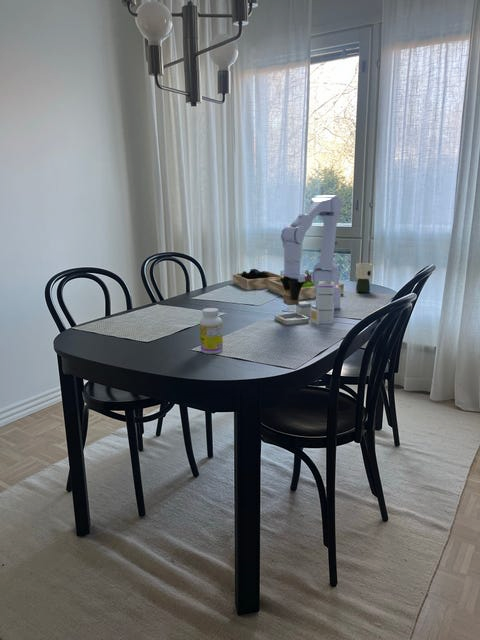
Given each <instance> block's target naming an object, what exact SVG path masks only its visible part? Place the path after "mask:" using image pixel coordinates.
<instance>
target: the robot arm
mask: <svg viewBox="0 0 480 640" xmlns="http://www.w3.org/2000/svg"><path fill="white" fill-rule="evenodd" d="M341 210H342V201H341V198H340V196H339V195H338V194H336V195H314V196H313V197H312V198H311V200H310V206H309V208H307V210H306V211H305V213H300V214H298V216H297V218H296V219H295V220H294V221H292V223H291V224H290V225H289V226H285V227H283V229H282V231H281V234H280V240H281V242H282V247H283V250H284V252H283V253H284V255H283V257H284V258H283V261H284V262H283V264H284V265H283V268H284V269H282V270H280V274H279V275H280V276H284V277H283V278H280V281H281V282H282V285H283V287H284V290H285V289H291V298H292V300H298V297H299V294H300V290H301V288H302V286H303V284H304V282H305V276H306V275H304V274H303V273H301V251H302V250H301V246H302V244H301V243H303V242H304V240H305V236H306V234H307V232H308V230H309V229H310V228H311V227H312V225H313V220H314V219H315V218H316V217H317V216H318V217H319V218H320V219H322V221H323V225H322V226H323V227H322V233H321V234H322V237H321V247H320V254H319V255H320V257H319V261H318V262H317V263H315V265H313V269H312V272H313V273H312V274H311V275H312V282H313V283H314V286H316V298H315V304H311V308H313V309H315V310H318V283H319V281H333V282H334V310H336V309H337V310H338V309H341V308H342V306H341V296H342V295H341V292H340V288H339V287H338V286H337V284H338V282H339V283H340V267H339V266H338V265H337V264H335V262H334V254H335V246H336V243H335V242H336V236H337V226H338V225H337V223H338V219H340V217H341V212H342V211H341ZM302 274H303V275H304V276H303V275H302Z"/></svg>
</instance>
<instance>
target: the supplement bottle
mask: <svg viewBox="0 0 480 640" xmlns="http://www.w3.org/2000/svg"><path fill="white" fill-rule="evenodd" d="M219 313H220V312H219V309H218V308H217V307H216V308H215V307H207V308H206V307H205V308H203V309H202V315H203V316H202V317H201V318H200V320H199V333H200V335H199V339H200V340H199V341H200V351H201V352H202V353H204V354H207V355H214V353H216V354H218V353H221V352H222V351H223V349H224V348H223V347H224V346H223V345H224V343H223V341H224V340H223V339H224V338H223V320H222V318H221V317H220V316H219Z"/></svg>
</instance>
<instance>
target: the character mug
mask: <svg viewBox="0 0 480 640" xmlns="http://www.w3.org/2000/svg"><path fill="white" fill-rule="evenodd" d="M372 274H373V264H372V263H366V262H358V263H356V265H355V278H357V282H356V286H355V291H356V292H360V293H362V292H363V293H369V292H370V291H371V285H370V280H369V279H372V276H373V275H372Z"/></svg>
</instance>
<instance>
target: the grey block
mask: <svg viewBox="0 0 480 640" xmlns="http://www.w3.org/2000/svg"><path fill="white" fill-rule="evenodd" d="M311 305H312V303H311V302H309V301H306V300H304V301H299V304H298V305H295V307H296V309H295V311H296V312H297V313H300V314H302V315H304V316H306V317H310V310H311V308H312V307H311Z"/></svg>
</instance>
